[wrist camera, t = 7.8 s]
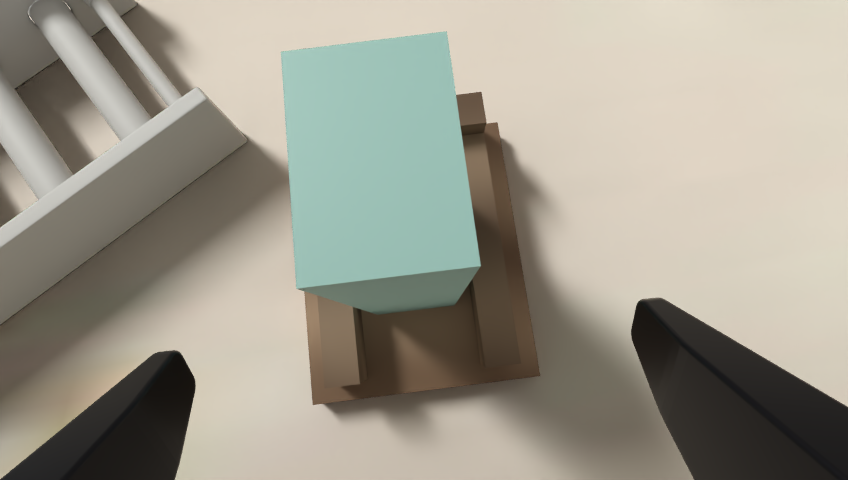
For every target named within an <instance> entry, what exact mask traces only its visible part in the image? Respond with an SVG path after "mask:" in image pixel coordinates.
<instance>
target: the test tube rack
mask: <svg viewBox="0 0 848 480" xmlns="http://www.w3.org/2000/svg"><path fill="white" fill-rule="evenodd" d="M65 3H67V5H68V6H69V7H70V9H71V10H70V9H69V8H68V6H67V5H66V4H65ZM136 5H138V4H137V3H136V2H135V0H0V143H1V145H2V146H3V148H4V149H5V151H6V152H7V154H8V155H9V157H10V158H11V160H12V161H13V163H14V164H15V166H16V167H17V169H18V170H19V172H20V173H21V175H22V176H23V178H24V179H25V181H26V182H27V184H28V185H29V187H30V188H31V190H32V191H33V193H34V194H35V196H36V197H37V198H38V201H36V202H35V203H34V204H32V205H31V206H29V207H28V208H27V209H25V210H24V211H23V212H21V213H20V214H18V215H17V216H16V217H14V218H13V219H11V220H10V221H9V222H7V223H6V224H4V225H3V226H2V227H0V325H1V324H2V323H3V322H5V321H6V320H7V319H9V318H10V317H11V316H13V315H14V314H15V313H17V312H18V311H19V310H21V309H22V308H24V307H25V306H26V305H28V304H29V303H30V302H32V301H33V300H34V299H36V298H37V297H38V296H40V295H41V294H42V293H44V292H45V291H46V290H48V289H49V288H50V287H52V286H53V285H54V284H56V283H57V282H59V281H60V280H61V279H63V278H64V277H65V276H67V275H68V274H69V273H71V272H72V271H73V270H75V269H76V268H77V267H79V266H80V265H81V264H83V263H84V262H85V261H87V260H88V259H89V258H91V257H92V256H94V255H95V254H96V253H98V252H99V251H100V250H102V249H103V248H104V247H106V246H107V245H108V244H110V243H111V242H112V241H114V240H115V239H116V238H118V237H119V236H120V235H122V234H123V233H124V232H126V231H127V230H129V229H130V228H131V227H133V226H134V225H135V224H137V223H138V222H139V221H141V220H142V219H143V218H145V217H146V216H147V215H149V214H150V213H151V212H153V211H154V210H155V209H157V208H158V207H160V206H161V205H162V204H164V203H165V202H166V201H168V200H169V199H170V198H172V197H173V196H174V195H176V194H177V193H178V192H180V191H181V190H182V189H184V188H185V187H186V186H188V185H189V184H190V183H192V182H193V181H195V180H196V179H197V178H199V177H200V176H201V175H203V174H204V173H205V172H207V171H208V170H209V169H211V168H212V167H213V166H215V165H216V164H217V163H219V162H220V161H222V160H223V159H224V158H226V157H227V156H228V155H230V154H231V153H232V152H234V151H235V150H236V149H238V148H239V147H240V146H242V145H243V144H244V143H246V142H247V139H246V137H245V136H244V135H243V134H242V132H241V131H240V130H239V129H238V128H237V127H236V126H235V125H234V124H233V123H232V122H231V121H230V120H229V119H228V118H227V116H226V115H225V114H224V113H223V112H222V111H221V110H220V109H219V108H218V107H217V106H216V105H215V104H214V103H213V102H212V101H211V100H210V99H209V98H208V97H207V96H206V95H205V94H204V93H203V91H202V90H201V89H200V88H198V87H195V88H194V89H192V90H191V91H190V92H188V93H187V94H185V95H184V96H183V97H182V96H181V95H180V93H179V92H178V91H177V89H176V88H175V87H174V86H173V84H172V83H171V82H170V80H169V79H168V78H167V77H166V75H165V74H164V73H163V71H162V70H161V69H160V68H159V66H158V65H157V64H156V62H155V61H154V60H153V59H152V57H151V56H150V55H149V53H148V52H147V51H146V50H145V48H144V47H143V46H142V44H141V43H140V42H139V41H138V39H137V38H136V37H135V35H134V34H133V33H132V32H131V30H130V29H129V28H128V26H127V25H126V24H125V22H124V21H123V20H122V19H121V17H120V16H122V15H123V14H125V13H126V12H128V11H129V10H131V9H132V8H134V7H135V6H136ZM28 14H29V15H28ZM29 16H30V17H31V18H32V20H33V21H34V22H33V21H32V20H31V19H30V18H29ZM106 26H107V27H108V29H109V30H110V31H111V33H112V34H113V35H114V36H115V38H116V39H117V40H118V42H119V43H120V44H121V46H122V47H123V48H124V49H125V51H126V52H127V53H128V55H129V56H130V57H131V59H132V60H133V61H134V63H135V64H136V65H137V66H138V68H139V69H140V70H141V72H142V73H143V74H144V76H145V77H146V78H147V80H148V81H149V82H150V83H151V85H152V86H153V87H154V89H155V90H156V91H157V93H158V94H159V95H160V97H161V98H162V99H163V100H164V102H165V103H166V104H167V106H168V107H167V108H166V109H165V110H163V111H162V112H160V113H159V114H158V115H156V116H155V117H153V118H151V117H150V115H149V114H148V113H147V111H146V110H145V109H144V107H143V106H142V105H141V103H140V102H139V101H138V99H137V98H136V97H135V95H134V94H133V93H132V91H131V90H130V89H129V87H128V86H127V85H126V83H125V82H124V81H123V79H122V78H121V77H120V75H119V74H118V73H117V71H116V70H115V69H114V67H113V66H112V65H111V63H110V62H109V61H108V59H107V58H106V57H105V55H104V54H103V53H102V51H101V50H100V49H99V48H98V46H97V45H96V44H95V42H94V41H93V40H92V38H91V36H93V35H94V34H96V33H97V32H99V31H100V30H101V29H103V28H104V27H106ZM59 58H61V60H62V61H63V62H64V64H65V65H66V67H67V68H68V69H69V71H70V72H71V73H72V75H73V76H74V78H75V79H76V80H77V82H78V83H79V84H80V86H81V87H82V89H83V90H84V91H85V93H86V94H87V95H88V97H89V98H90V100H91V101H92V102H93V104H94V105H95V106H96V108H97V109H98V111H99V112H100V113H101V115H102V116H103V117H104V119H105V120H106V122H107V123H108V124H109V126H110V127H111V128H112V130H113V131H114V133H115V134H116V135H117V137H118V138H119V139H120V142H119V143H117V144H116V145H115V146H113V147H112V148H110V149H109V150H108V151H106V152H105V153H103V154H102V155H101V156H99V157H98V158H96V159H95V160H94V161H92V162H91V163H89V164H88V165H87V166H85V167H84V168H82V169H81V170H80V171H78V172H77V173H76V174H74V175H73V173H72V172H71V170H70V169H69V167H68V166H67V164H66V163H65V162H64V160H63V159H62V157H61V156H60V154H59V153H58V151H57V150H56V149H55V147H54V146H53V144H52V143H51V141H50V140H49V138H48V137H47V135H46V134H45V133H44V131H43V130H42V128H41V127H40V125H39V124H38V122H37V121H36V120H35V118H34V117H33V115H32V114H31V112H30V111H29V109H28V108H27V107H26V105H25V104H24V102H23V101H22V99H21V98H20V96H19V95H18V93H17V92H16V91H15V88H16V87H18V86H19V85H21V84H22V83H24V82H25V81H27V80H28V79H30V78H31V77H33V76H34V75H36V74H37V73H38V72H40V71H41V70H43V69H44V68H46V67H47V66H49V65H50V64H52V63H53V62H55V61H56V60H57V59H59Z"/></svg>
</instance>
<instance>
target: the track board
mask: <svg viewBox="0 0 848 480" xmlns="http://www.w3.org/2000/svg"><path fill="white" fill-rule="evenodd" d="M456 99H457V106H458V113H459V120H460V127H461V133H462V140H463V147H464V154H465V161H466V168H467V175H468V181H469V188H470V195H471V202H472V209H473V216H474V223H475V230H476V236H477V243H478V250H479V257H480V264H481V267H480V268H479V269H478V271H477V272H476V274H475V275H474V277H473V278H472V280H471V281H470V283H469V284H468V286H467V287H466V289H465V290H464V292H463V293H462V295H461V296H460V298H459V299H458V301H457V302H456V304H455V305H454V306H445V307H437V308H429V309H421V310H413V311H405V312H396V313H388V314H380V315H377V314H374V313H370V312H367V311H364V310H361V309H358V308H355V307H352V306H349V305H346V304H343V303H339V302H336V301H333V300H330V299H327V298H324V297H321V296H318V295H315V294H312V293H308V292H305V291H304V292H305V305H306V319H307V332H308V346H309V359H310V373H311V387H312V400H313V405H316V404H324V403H332V402H340V401H347V400H355V399H363V398H371V397H379V396H386V395H394V394H402V393H410V392H418V391H426V390H433V389H441V388H449V387H457V386H465V385H473V384H480V383H488V382H496V381H504V380H512V379H520V378H527V377H535V376H540V372H539V366H538V360H537V354H536V349H535V343H534V337H533V331H532V325H531V319H530V313H529V307H528V301H527V295H526V289H525V283H524V277H523V271H522V265H521V260H520V254H519V248H518V242H517V236H516V230H515V224H514V218H513V212H512V206H511V200H510V194H509V188H508V182H507V176H506V170H505V165H504V159H503V153H502V147H501V141H500V135H499V129H498V123H489V124H486V117H485V111H484V105H483V99H482V93H481V92H476V93H469V94H461V95H456Z"/></svg>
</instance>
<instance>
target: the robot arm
mask: <svg viewBox="0 0 848 480" xmlns="http://www.w3.org/2000/svg"><path fill="white" fill-rule="evenodd" d="M631 335H632V341H633V344H634V346H635V349H636V352H637V354H638V357H639V359H640V362H641V365H642V367H643V370H644V373H645V375H646V378H647V380H648V383H649V386H650V388H651V391H652V394H653V396H654V399H655V401H656V404H657V406H658V409H659V411H660V413H661V415H662V417H663V420H664V422H665V424H666V426H667V428H668V430H669V432H670V433H671V435H672V437H673V439H674V441H675V443H676V445H677V447H678V449H679V451H680V453H681V455H682V457H683V459H684V461H685V463H686V465H687V467H688V469H689V470H690V472H691V474H692V476H693V478H694V480H848V407H847V406H845V405H844V404H842V403H840V402H839V401H837V400H835V399H833V398H832V397H830V396H828V395H827V394H825V393H823V392H821V391H820V390H818V389H816V388H815V387H813V386H811V385H810V384H808V383H806V382H804V381H803V380H801V379H799V378H798V377H796V376H794V375H792V374H791V373H789V372H787V371H786V370H784V369H782V368H781V367H779V366H777V365H775V364H774V363H772V362H770V361H769V360H767V359H765V358H763V357H762V356H760V355H758V354H757V353H755V352H753V351H752V350H750V349H748V348H746V347H745V346H743V345H741V344H740V343H738V342H736V341H734V340H733V339H731V338H729V337H728V336H726V335H724V334H723V333H721V332H719V331H717V330H716V329H714V328H712V327H711V326H709V325H707V324H705V323H704V322H702V321H700V320H699V319H697V318H695V317H694V316H692V315H690V314H688V313H687V312H685V311H683V310H682V309H680V308H678V307H676V306H675V305H673V304H671V303H670V302H668V301H666V300H664V299H662V298H650V299H642V300H640V301H639V302H638V303H637V306H636V310H635V315H634V320H633V324H632V330H631ZM194 393H195V379H194V376H193V374H192V372H191V371H190V369H189V367H188V365H187V363H186V361H185V360H184V358H183V356H182V354H181V353H180V352H178V351H175V350H173V351H164V352H157V353H155V354H153V355H152V356H150V357H149V358H148V359H147V360H146V361H144V362H143V363H142V364H141V365H139V366H138V367H137V368H136V369H135V370H133V371H132V372H131V373H130V374H128V375H127V376H126V377H125V378H124V379H122V380H121V381H120V382H119V383H117V384H116V385H115V386H114V387H113V388H111V389H110V390H109V391H108V392H106V393H105V394H104V395H103V396H102V397H100V398H99V399H98V400H97V401H95V402H94V403H93V404H92V405H91V406H89V407H88V408H87V409H86V410H84V411H83V412H82V413H81V414H80V415H78V416H77V417H76V418H75V419H73V420H72V421H71V422H70V423H69V424H67V425H66V426H65V427H64V428H63V429H61V430H60V431H59V432H58V433H56V434H55V435H54V436H53V437H51V438H50V439H49V440H48V441H47V442H45V443H44V444H43V445H42V446H40V447H39V448H38V449H37V450H36V451H34V452H33V453H32V454H31V455H29V456H28V457H27V458H26V459H25V460H23V461H22V462H21V463H20V464H18V465H17V466H16V467H15V468H14V469H12V470H11V471H10V472H9V473H7V474H6V475H5V476H4V477H3V478H1V479H0V480H175V477H176V473H177V470H178V467H179V463H180V459H181V455H182V450H183V446H184V441H185V436H186V431H187V427H188V422H189V417H190V412H191V408H192V403H193V398H194Z"/></svg>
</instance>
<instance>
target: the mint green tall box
mask: <svg viewBox="0 0 848 480" xmlns="http://www.w3.org/2000/svg"><path fill="white" fill-rule="evenodd" d="M281 59H282V74H283V90H284V105H285V121H286V136H287V151H288V167H289V182H290V197H291V213H292V228H293V243H294V259H295V274H296V289H299V290H302V291H305V292H308V293H312V294H315V295H318V296H321V297H324V298H327V299H330V300H333V301H336V302H339V303H343V304H346V305H349V306H352V307H355V308H358V309H361V310H364V311H367V312H370V313H374V314H377V315H380V314H388V313H396V312H405V311H413V310H421V309H429V308H437V307H445V306H454V305H455V304H456V302H457V301H458V299H459V298H460V296H461V295H462V293H463V292H464V290H465V289H466V287H467V286H468V284H469V283H470V281H471V280H472V278H473V277H474V275H475V274H476V272H477V271H478V269H479V268H480V267H481V264H480V257H479V250H478V243H477V236H476V230H475V223H474V216H473V209H472V202H471V195H470V188H469V181H468V175H467V168H466V161H465V154H464V147H463V140H462V133H461V127H460V120H459V113H458V106H457V99H456V92H455V85H454V78H453V72H452V65H451V58H450V51H449V44H448V37H447V31H446V32H438V33H430V34H422V35H414V36H405V37H397V38H389V39H381V40H373V41H365V42H357V43H348V44H340V45H332V46H324V47H316V48H308V49H299V50H291V51H283V52H281Z"/></svg>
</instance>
